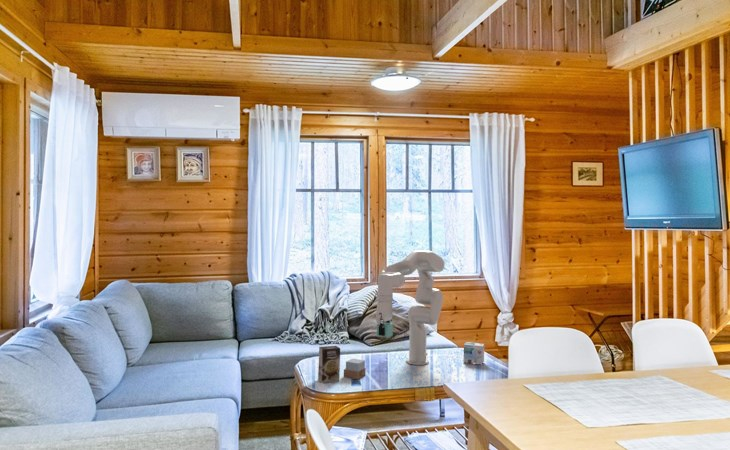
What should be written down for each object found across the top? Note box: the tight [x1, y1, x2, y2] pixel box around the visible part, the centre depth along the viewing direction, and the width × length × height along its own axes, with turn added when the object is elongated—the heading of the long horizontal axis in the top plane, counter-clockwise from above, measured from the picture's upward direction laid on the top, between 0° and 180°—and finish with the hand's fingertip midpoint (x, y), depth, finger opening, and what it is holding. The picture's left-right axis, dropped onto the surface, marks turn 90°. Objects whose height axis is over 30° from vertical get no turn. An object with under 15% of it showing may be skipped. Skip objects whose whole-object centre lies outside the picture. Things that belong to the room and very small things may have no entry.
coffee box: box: [317, 345, 341, 384], centre depth 237 cm, size 9×6×16 cm
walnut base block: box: [343, 367, 367, 380], centre depth 245 cm, size 8×8×4 cm
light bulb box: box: [462, 341, 485, 365], centre depth 275 cm, size 11×7×11 cm, turn 68°
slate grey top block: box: [345, 358, 366, 372], centre depth 244 cm, size 7×7×4 cm
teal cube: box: [376, 322, 394, 338], centre depth 246 cm, size 6×6×6 cm
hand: (384, 333), depth 246 cm, fingers closed on teal cube, 6 cm apart
